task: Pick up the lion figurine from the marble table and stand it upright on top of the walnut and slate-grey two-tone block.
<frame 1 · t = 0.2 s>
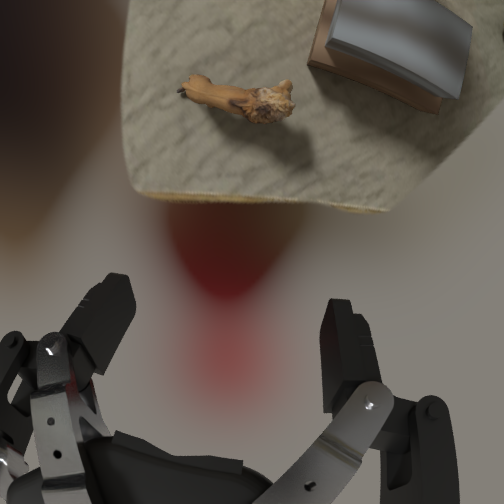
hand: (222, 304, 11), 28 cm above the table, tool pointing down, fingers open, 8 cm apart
lion figurine: (238, 93, 30), on the table
two-tone block: (380, 40, 24), on the table
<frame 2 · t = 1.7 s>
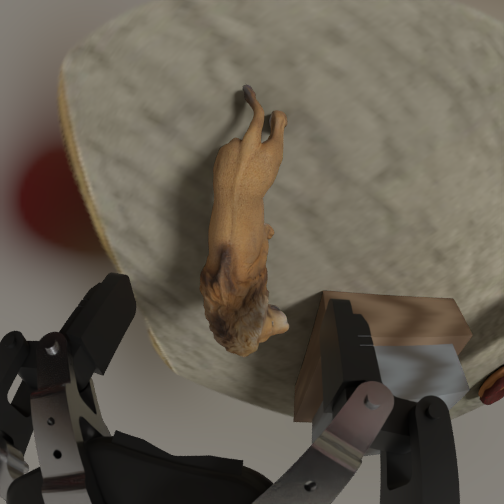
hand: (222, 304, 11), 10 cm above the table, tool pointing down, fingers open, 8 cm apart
lion figurine: (257, 196, 19), on the table
donut: (498, 374, 29), on the table
two-tone block: (369, 351, 26), on the table
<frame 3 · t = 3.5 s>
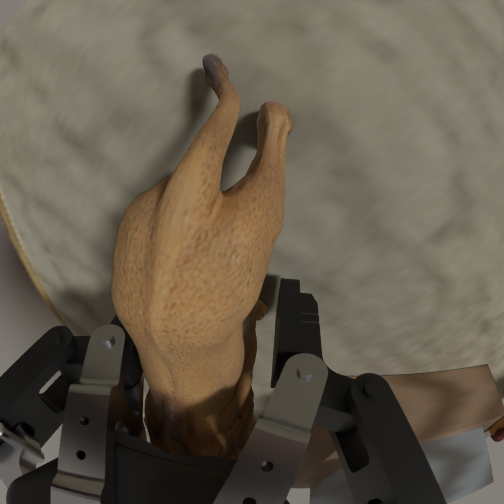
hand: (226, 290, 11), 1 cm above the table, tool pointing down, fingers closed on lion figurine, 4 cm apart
lion figurine: (239, 256, 12), on the table, touching gripper
two-tone block: (382, 420, 19), on the table
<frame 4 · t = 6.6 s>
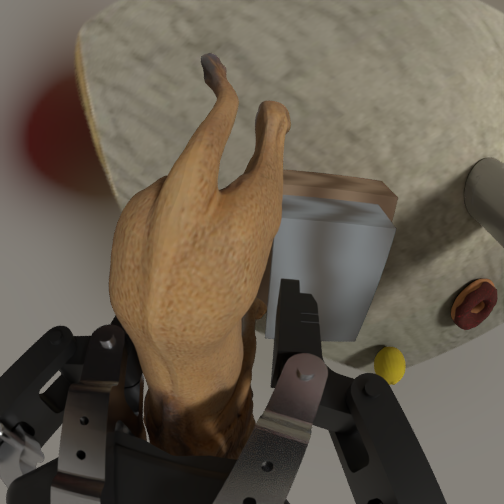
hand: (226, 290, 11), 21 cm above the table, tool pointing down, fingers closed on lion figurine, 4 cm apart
lion figurine: (238, 255, 12), point 20 cm above the table, touching gripper
lemon: (384, 346, 44), on the table
donut: (470, 296, 36), on the table
two-tone block: (314, 237, 33), on the table
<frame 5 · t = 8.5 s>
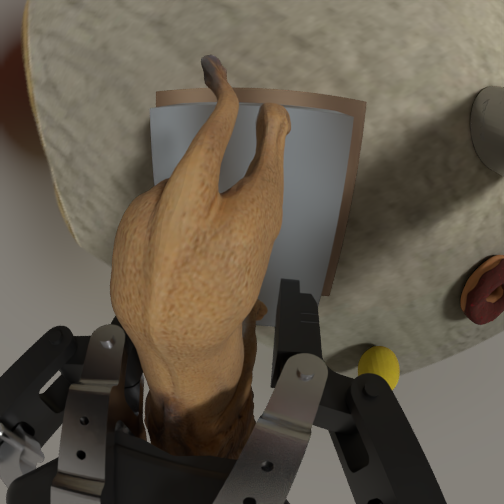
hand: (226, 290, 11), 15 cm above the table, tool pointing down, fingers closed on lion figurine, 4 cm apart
lion figurine: (239, 257, 12), point 14 cm above the table, touching gripper
lemon: (373, 345, 34), on the table
donut: (485, 281, 27), on the table
two-tone block: (259, 180, 24), on the table
when the fingers open (12 cm above the table, at t = 9.8 s): lion figurine drops 1 cm, resting on two-tone block.
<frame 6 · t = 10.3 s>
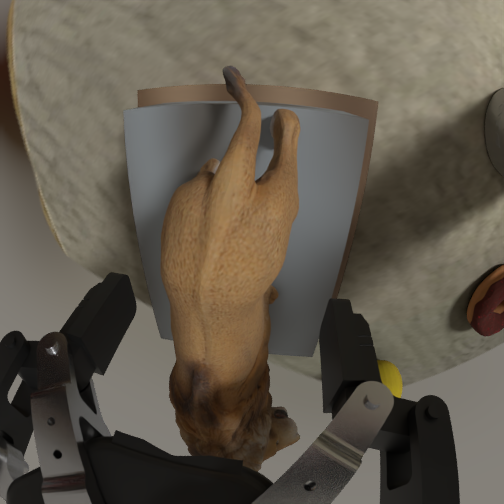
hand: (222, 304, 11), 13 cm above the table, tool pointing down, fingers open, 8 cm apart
lion figurine: (253, 245, 13), point 10 cm above the table, touching two-tone block
lemon: (375, 359, 32), on the table
donut: (492, 290, 25), on the table
two-tone block: (255, 188, 22), on the table
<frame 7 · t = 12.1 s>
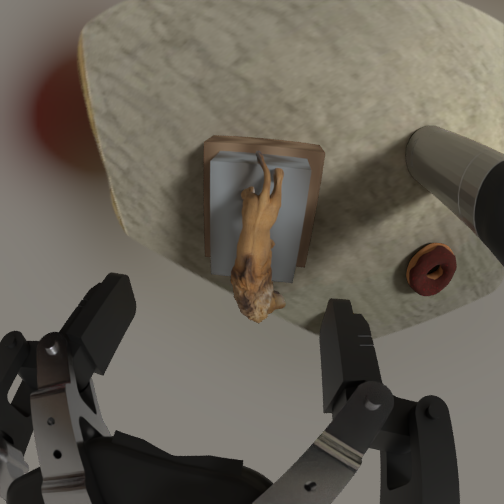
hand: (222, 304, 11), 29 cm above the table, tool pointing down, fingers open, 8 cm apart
lion figurine: (264, 221, 30), point 10 cm above the table, touching two-tone block
donut: (428, 263, 42), on the table
two-tone block: (261, 194, 38), on the table
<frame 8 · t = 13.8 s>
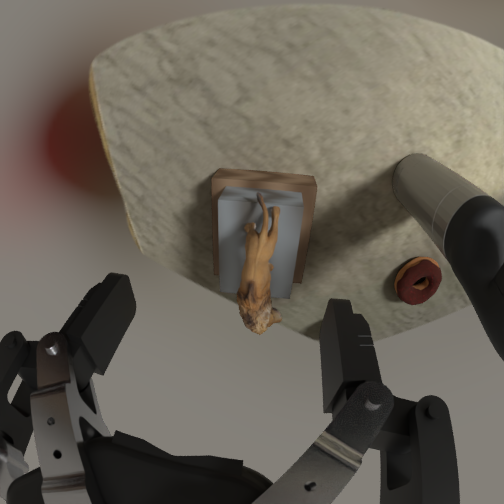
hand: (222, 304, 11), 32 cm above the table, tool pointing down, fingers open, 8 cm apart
lion figurine: (264, 248, 35), point 10 cm above the table, touching two-tone block
donut: (415, 274, 47), on the table
two-tone block: (263, 219, 44), on the table
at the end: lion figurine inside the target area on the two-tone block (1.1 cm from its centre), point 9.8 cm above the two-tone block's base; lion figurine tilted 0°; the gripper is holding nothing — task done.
